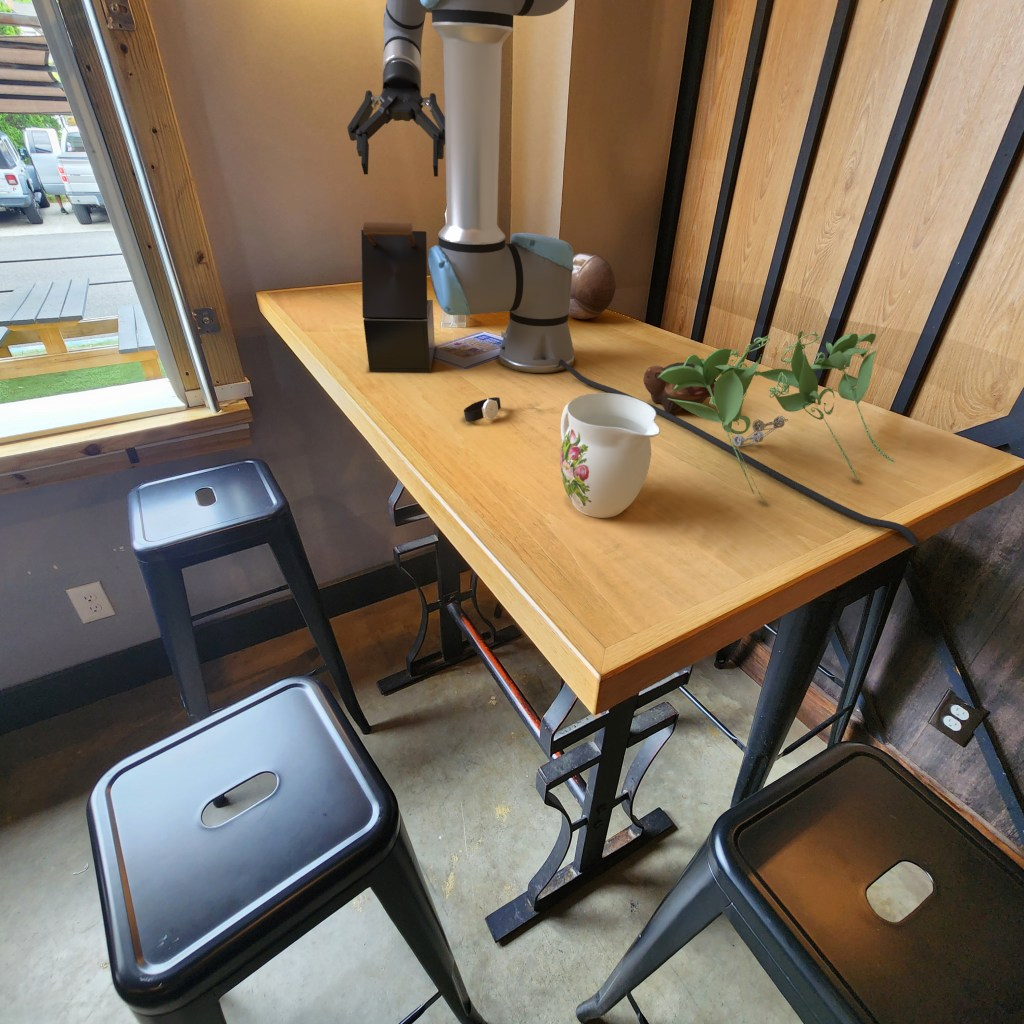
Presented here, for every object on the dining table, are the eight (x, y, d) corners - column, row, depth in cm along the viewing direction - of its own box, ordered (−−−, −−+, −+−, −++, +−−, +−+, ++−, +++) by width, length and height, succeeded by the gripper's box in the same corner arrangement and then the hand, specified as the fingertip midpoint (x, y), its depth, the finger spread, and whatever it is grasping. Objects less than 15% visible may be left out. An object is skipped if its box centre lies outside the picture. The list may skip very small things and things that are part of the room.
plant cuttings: (857, 492, 91) (801, 372, 97) (960, 446, 75) (886, 307, 81) (674, 536, 80) (622, 398, 86) (750, 493, 64) (681, 327, 70)
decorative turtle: (624, 402, 101) (633, 357, 97) (694, 397, 106) (705, 354, 102) (655, 422, 93) (666, 374, 89) (729, 416, 98) (742, 370, 94)
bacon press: (361, 231, 102) (351, 209, 94) (426, 233, 103) (421, 211, 95) (363, 318, 103) (353, 304, 95) (427, 319, 104) (422, 305, 96)
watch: (478, 428, 91) (478, 407, 88) (456, 420, 93) (455, 399, 91) (507, 413, 96) (508, 392, 94) (486, 405, 98) (486, 385, 96)
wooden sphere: (544, 322, 138) (548, 256, 130) (559, 306, 150) (564, 245, 141) (605, 330, 134) (613, 262, 126) (616, 313, 146) (624, 250, 138)
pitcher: (591, 460, 83) (602, 369, 75) (671, 526, 70) (695, 425, 62) (525, 475, 79) (530, 382, 71) (597, 549, 66) (612, 444, 58)
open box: (380, 346, 121) (375, 298, 115) (434, 347, 121) (432, 299, 116) (369, 372, 109) (363, 320, 103) (430, 372, 110) (427, 321, 104)
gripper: (465, 95, 118) (465, 186, 114) (343, 90, 116) (339, 182, 113) (464, 61, 111) (464, 157, 107) (334, 55, 109) (329, 152, 105)
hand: (400, 170), depth 110 cm, fingers open, 13 cm apart
